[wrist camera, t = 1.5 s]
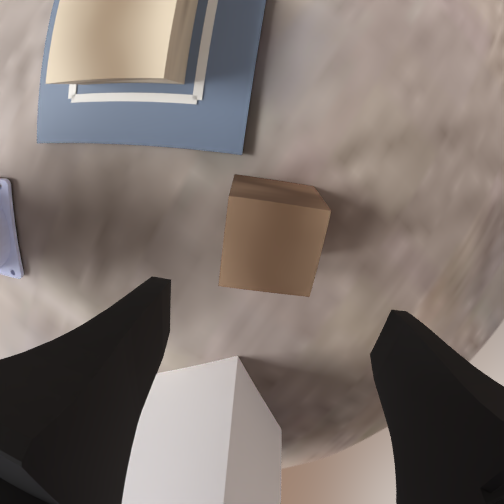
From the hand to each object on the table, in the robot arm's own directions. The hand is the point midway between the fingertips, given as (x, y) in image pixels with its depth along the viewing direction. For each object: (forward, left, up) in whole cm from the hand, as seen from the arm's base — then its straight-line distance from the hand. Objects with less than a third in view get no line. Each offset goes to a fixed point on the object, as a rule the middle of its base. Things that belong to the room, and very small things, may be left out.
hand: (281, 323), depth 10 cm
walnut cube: (0, 0, -10) cm, 10 cm away
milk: (-3, -19, -10) cm, 22 cm away
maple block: (-9, +10, -9) cm, 16 cm away
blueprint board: (-9, +10, -10) cm, 16 cm away
